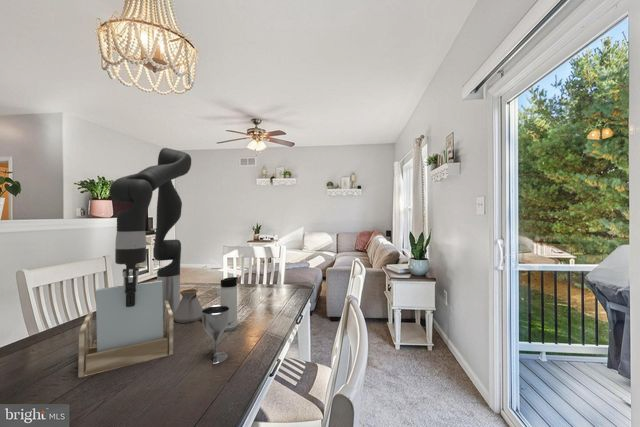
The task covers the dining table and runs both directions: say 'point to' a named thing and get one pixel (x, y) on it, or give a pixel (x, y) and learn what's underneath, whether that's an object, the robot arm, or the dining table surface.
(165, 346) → the rack
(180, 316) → the coffee pot
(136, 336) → the blue-grey flat rectangular block
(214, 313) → the wine glass
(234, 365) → the dining table surface
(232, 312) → the travel mug
